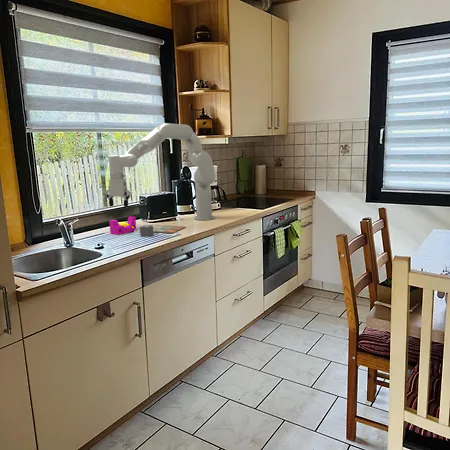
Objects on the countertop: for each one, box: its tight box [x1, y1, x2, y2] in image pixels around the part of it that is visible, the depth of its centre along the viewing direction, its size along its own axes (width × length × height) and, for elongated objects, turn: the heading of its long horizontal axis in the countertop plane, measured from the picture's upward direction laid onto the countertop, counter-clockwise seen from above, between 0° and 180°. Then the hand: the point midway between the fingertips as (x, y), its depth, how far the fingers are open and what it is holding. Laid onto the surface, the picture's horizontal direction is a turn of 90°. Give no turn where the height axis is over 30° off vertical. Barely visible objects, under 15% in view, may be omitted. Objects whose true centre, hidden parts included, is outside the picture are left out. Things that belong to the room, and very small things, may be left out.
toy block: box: [109, 215, 137, 236], centre depth 234 cm, size 15×6×8 cm, turn 141°
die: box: [139, 224, 155, 238], centre depth 223 cm, size 5×5×5 cm
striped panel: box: [153, 225, 187, 235], centre depth 235 cm, size 17×18×1 cm
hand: (118, 206), depth 242 cm, fingers open, 9 cm apart
